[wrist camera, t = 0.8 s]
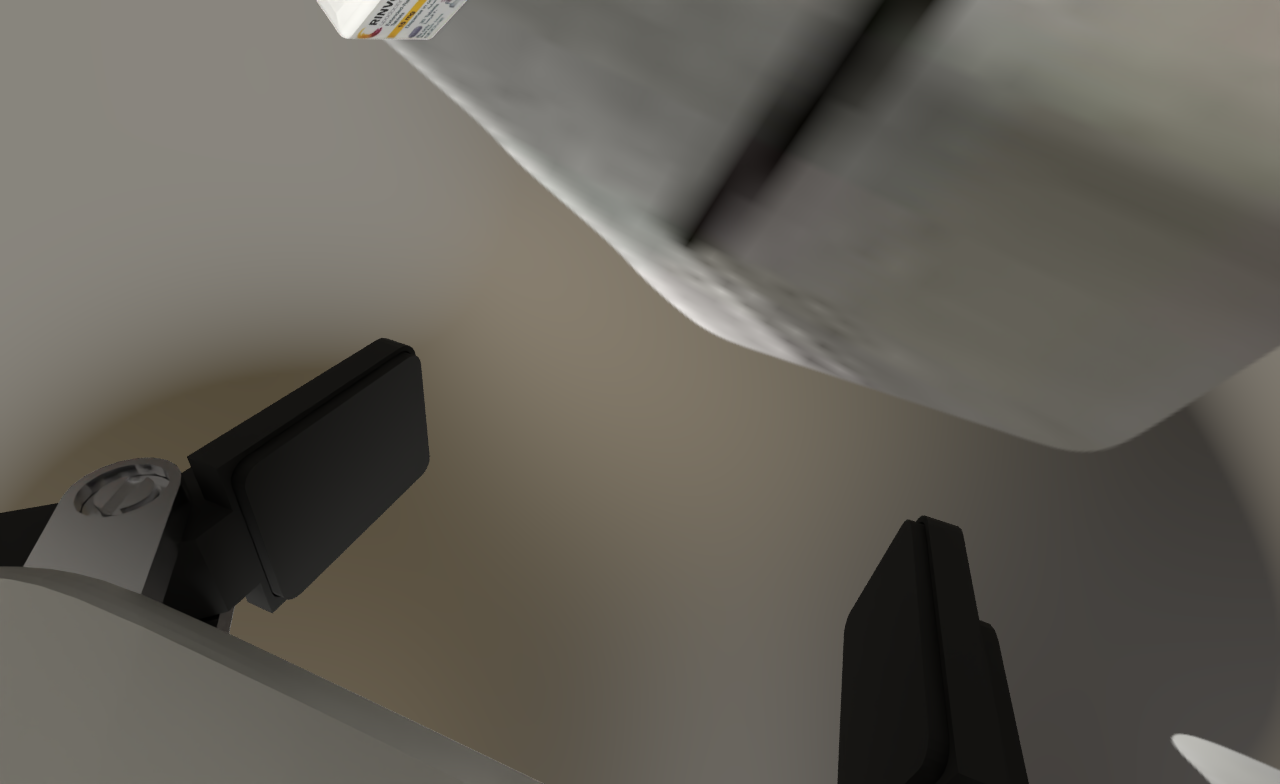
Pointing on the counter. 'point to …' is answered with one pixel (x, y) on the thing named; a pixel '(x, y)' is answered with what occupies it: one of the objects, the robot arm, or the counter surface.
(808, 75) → the counter surface
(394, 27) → the container
